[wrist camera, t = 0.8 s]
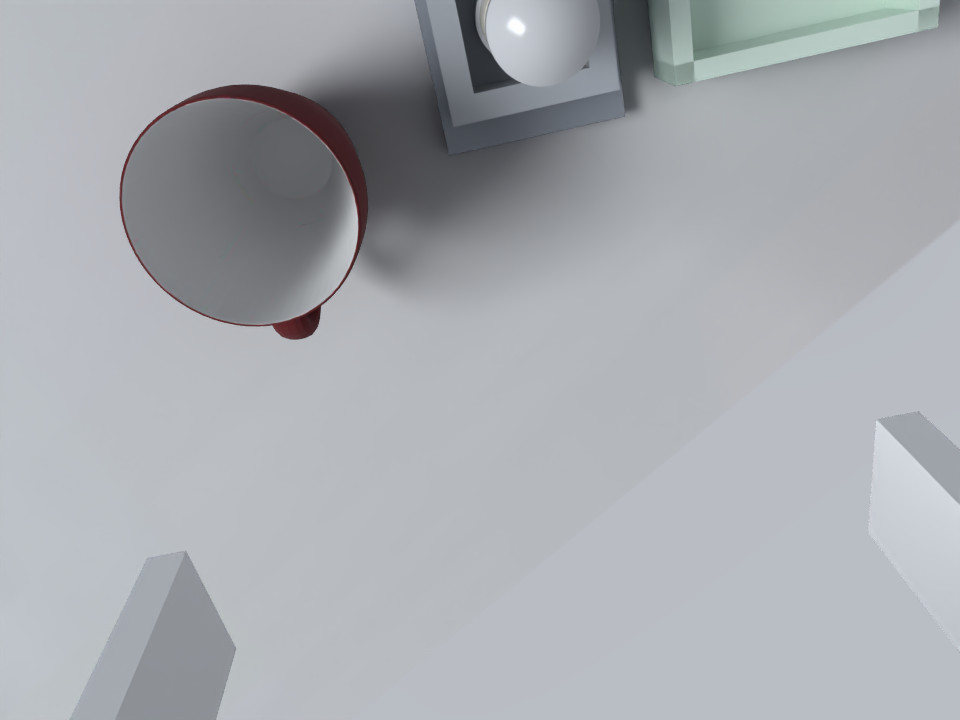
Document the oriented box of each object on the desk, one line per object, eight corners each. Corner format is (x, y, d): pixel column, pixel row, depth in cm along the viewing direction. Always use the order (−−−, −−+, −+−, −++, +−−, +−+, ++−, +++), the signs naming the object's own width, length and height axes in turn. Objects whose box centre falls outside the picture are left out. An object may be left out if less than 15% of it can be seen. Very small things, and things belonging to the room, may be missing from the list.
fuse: (466, -22, 30) (476, -23, 22) (550, -42, 30) (591, -50, 22) (483, 68, 32) (499, 97, 24) (564, 50, 32) (607, 73, 24)
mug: (415, 268, 37) (407, 360, 28) (259, 304, 37) (202, 405, 28) (352, 43, 32) (319, 66, 23) (174, 87, 32) (74, 127, 23)
